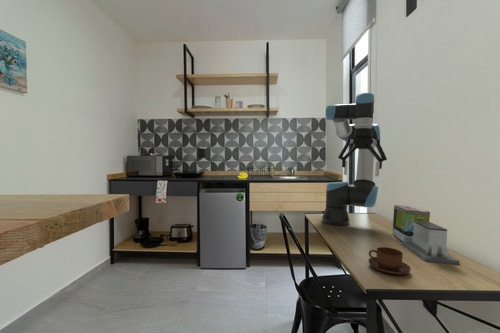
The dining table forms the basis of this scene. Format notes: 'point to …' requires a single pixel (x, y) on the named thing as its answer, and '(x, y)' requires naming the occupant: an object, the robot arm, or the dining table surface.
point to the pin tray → (432, 258)
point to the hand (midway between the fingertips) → (361, 175)
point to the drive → (429, 237)
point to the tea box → (407, 221)
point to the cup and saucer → (388, 261)
